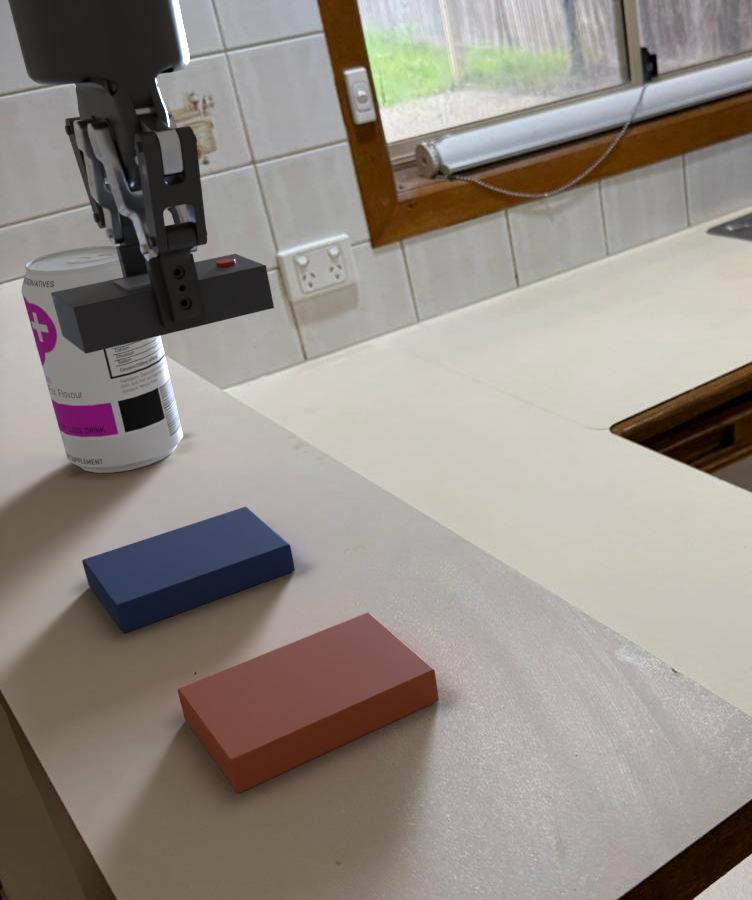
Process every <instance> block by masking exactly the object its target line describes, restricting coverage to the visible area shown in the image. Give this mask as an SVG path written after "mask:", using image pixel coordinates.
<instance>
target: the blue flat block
mask: <svg viewBox="0 0 752 900" xmlns="http://www.w3.org/2000/svg"><path fill="white" fill-rule="evenodd" d="M81 562H82V566H83V569H84V574H85V577H86V580H87V585H88V587H89V588H90V590H91V591H92V592H93V593H94V595H95V596H96V598H97V599H98V600H99V602H100V604H101V605H102V606H103V608H104V609H105V610H106V612H107V613H108V615H109V616H110V617H111V619H112V620H113V621H114V623H115V624H116V626H117V627H118V628H119V630H120V631H121V633H122V634H126V633H129V632H132V631H135V630H137V629H140V628H143V627H145V626H149V625H151V624H154V623H157V622H160V621H162V620H165V619H167V618H171V617H173V616H176V615H178V614H181V613H184V612H186V611H189V610H192V609H195V608H197V607H201V606H203V605H206V604H208V603H211V602H214V601H216V600H219V599H221V598H225V597H227V596H230V595H233V594H236V593H238V592H241V591H244V590H246V589H249V588H252V587H255V586H258V585H260V584H263V583H266V582H269V581H271V580H274V579H276V578H279V577H282V576H284V575H288V574H290V573H293V572H295V571H296V568H295V564H294V563H295V562H294V557H293V552H292V546H291V544H290V543H289V542H288V541H287V540H285V539H284V538H283V537H282V536H281V535H280V534H279V533H278V532H276V531H275V530H274V529H273V528H272V527H271V526H269V525H268V524H267V523H266V522H265V521H264V520H263V519H261V517H259V516H258V515H257V514H256V513H255V512H254V511H252V510H251V509H250V508H249V507H247V506H243V507H240V508H236V509H233V510H230V511H227V512H225V513H221V514H218V515H215V516H212V517H209V518H206V519H203V520H199V521H196V522H194V523H191V524H188V525H185V526H181V527H179V528H175V529H172V530H170V531H166V532H163V533H159V534H157V535H154V536H150V537H147V538H145V539H142V540H138V541H136V542H131V543H129V544H126V545H123V546H120V547H117V548H114V549H111V550H108V551H105V552H102V553H99V554H96V555H93V556H90V557H87V558H84V559H82V560H81Z"/></svg>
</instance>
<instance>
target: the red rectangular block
mask: <svg viewBox="0 0 752 900" xmlns="http://www.w3.org/2000/svg"><path fill="white" fill-rule="evenodd" d="M177 694H178V698H179V702H180V705H181V709H182V715H183V718H184V720H185V721H186V723H187V724H188V726H189V727H190V729H191V730H192V732H193V733H194V734H195V736H196V737H197V739H198V740H199V742H201V744H202V746H203V747H204V748H205V750H206V751H207V752H208V754H209V755H210V757H211V758H212V759H213V761H214V762H215V764H216V765H217V766H218V768H219V769H220V771H221V772H222V773H223V775H224V777H226V779H227V780H228V782H229V783H230V784H231V786H232V787H233V789H234V790H235V792H237V794H240V793H242V792H245V791H247V790H249V789H252V788H254V787H257V786H258V785H261V784H262V783H264V782H267V781H269V780H271V779H273V778H276V777H277V776H280V775H282V774H283V773H286V772H288V771H290V770H293V769H294V768H297V767H298V766H301V765H303V764H305V763H307V762H309V761H311V760H314V759H316V758H318V757H320V756H323V755H324V754H327V753H329V752H331V751H334V750H335V749H337V748H340V747H342V746H344V745H346V744H348V743H351V742H352V741H354V740H357V739H360V738H361V737H364V736H365V735H367V734H370V733H372V732H374V731H377V730H378V729H380V728H383V727H385V726H387V725H390V724H391V723H394V722H395V721H398V720H400V719H402V718H404V717H407V716H408V715H411V714H413V713H415V712H417V711H419V710H421V709H423V708H426V707H428V706H430V705H432V704H435V703H437V702H439V700H440V699H439V690H438V684H437V677H436V671H435V669H434V668H433V667H432V666H431V665H430V664H429V663H427V662H426V660H424V659H423V658H422V657H421V656H419V655H418V654H417V653H416V652H415V651H414V650H412V649H411V648H410V647H409V646H408V645H407V644H406V643H404V641H402V640H401V639H400V638H399V637H398V636H397V635H395V634H394V633H393V632H392V631H391V630H390V629H389V628H387V627H386V626H385V625H384V624H383V623H381V622H380V621H379V620H378V619H377V618H376V617H375V616H374V615H373V614H371V612H364V613H363V614H360V615H357V616H355V617H352V618H349V619H347V620H345V621H343V622H340V623H338V624H335V625H333V626H330V627H327V628H325V629H323V630H320V631H317V632H314V633H312V634H310V635H307V636H305V637H303V638H301V639H297V640H295V641H293V642H290V643H287V644H285V645H282V646H280V647H277V648H275V649H272V650H270V651H267V652H265V653H263V654H260V655H258V656H255V657H253V658H250V659H248V660H244V661H243V662H240V663H237V664H236V665H233V666H230V667H228V668H225V669H223V670H220V671H218V672H215V673H212V674H211V675H208V676H205V677H203V678H200V679H198V680H196V681H193V682H190V683H187V684H186V685H183V686H181V687H178V688H177Z"/></svg>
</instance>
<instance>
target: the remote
mask: <svg viewBox="0 0 752 900" xmlns="http://www.w3.org/2000/svg"><path fill="white" fill-rule="evenodd" d="M194 262H195V267H196V271H197V276H198V281H199V285H200V290H201V294H202V299H203V303H204V308H205V312H206V320H205V321H204V323H203V324H201V325H199V326H195V327H191V328H187V329H183V330H179V331H174V332H173V331H169V330H167V329H165V328H164V327H162V325H161V324H160V321H159V317H158V313H157V309H156V304H155V300H154V296H153V292H152V288H151V284H150V279H149V275H148V272H146V273H142V274H137V275H132V276H128V277H123V278H118V279H113V280H109V281H104V282H99V283H95V284H90V285H85V286H80V287H76V288H71V289H66V290H61V291H57V292H52V293H51V295H52V299H53V302H54V306H55V310H56V313H57V317H58V321H59V324H60V328H61V332H62V335H63V337H64V338H66V339H67V340H68V341H70V342H71V343H72V344H74V345H75V346H76V347H78V348H79V349H80V350H82V351H83V352H84V353H86V354H87V353H91V352H95V351H99V350H103V349H108V348H112V347H116V346H120V345H124V344H128V343H132V342H136V341H140V340H145V339H149V338H153V337H157V336H166V335H169V334H173V333H177V332H182V331H186V330H189V329H194V328H198V327H202V326H206V325H210V324H214V323H218V322H222V321H226V320H230V319H231V320H232V319H234V318H240V317H243V316H246V315H251V314H255V313H259V312H264V311H268V310H271V309H275V305H274V299H273V294H272V289H271V283H270V278H269V274H268V268H267V264H263V263H261V262H259V261H256V260H253V259H251V258H248V257H245V256H243V255H240V254H237V253H232V254H227V255H222V256H218V257H213V258H208V259H204V260H200V261H194Z"/></svg>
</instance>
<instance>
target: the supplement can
mask: <svg viewBox="0 0 752 900" xmlns="http://www.w3.org/2000/svg"><path fill="white" fill-rule="evenodd" d="M117 246H118V245H112V244H111V245H93V246H84V247H77V248H76V247H75V248H71V249H63V250H58V251H56V252H51V253H47V254H44V255H43V254H42V255H41V256H38V257H36V258H33V259H30V260H29V261H28V262H26V263H25V272H24V273H25V274H24V276H23V281H22V283H21V294H22V298H23V301H24V305H25V309H26V313H27V317H28V321H29V323H30V327H31V331H32V334H33V337H34V341H35V345H36V349H37V352H38V357H39V360H40V363H41V367H42V371H43V376H44V378H45V382H46V385H47V389H48V393H49V397H50V401H51V403H52V408H53V411H54V415H55V419H56V421H57V425H58V430H59V433H60V437H61V441H62V443H63V444H62V445H63V448H64V452H65V455H66V459H67V460H68V461H69V462H70V463H72V464H73V465H75V466H77V467H79V468H81V469H82V470H84V472H85V471H86V472H91V473H97V474H105V473H106V474H107V473H110V474H111V473H113V474H114V473H120V472H126V471H127V472H128V471H132V470H135V469H136V470H137V469H139V468H144V467H147V466H150V465H152V464H154V463H158V462H159V461H162V460H163V459H166V458H167V457H168V456H170V455H171V454H172V453H173V452H174V451H175V450H176V448H177V447H178V444H179V443H180V442H181V440H182V439H183V437H184V434H183V428H182V425H181V424H182V423H181V420H180V415H179V411H178V407H177V402H176V397H175V394H174V389H173V385H172V381H171V376H170V372H169V367H168V363H167V358H166V354H165V350H164V346H163V341H162V337H161V336H162V335H161V336H157V337H153V338H149V339H145V340H140V341H136V342H132V343H128V344H124V345H120V346H116V347H112V348H108V349H103V350H99V351H95V352H91V353H87V354H86V353H84V352H83V351H82V350H80V349H79V348H78V347H76V346H75V345H74V344H72V343H71V342H70V341H68V340H67V339H66V338H64V337H63V335H62V332H61V328H60V324H59V321H58V317H57V313H56V310H55V306H54V302H53V299H52V295H51V293H52V292H57V291H61V290H66V289H71V288H76V287H80V286H85V285H90V284H95V283H99V282H104V281H109V280H113V279H118V278H123V274H122V270H121V266H120V262H119V258H118V253H117V249H116V247H117Z"/></svg>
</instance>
